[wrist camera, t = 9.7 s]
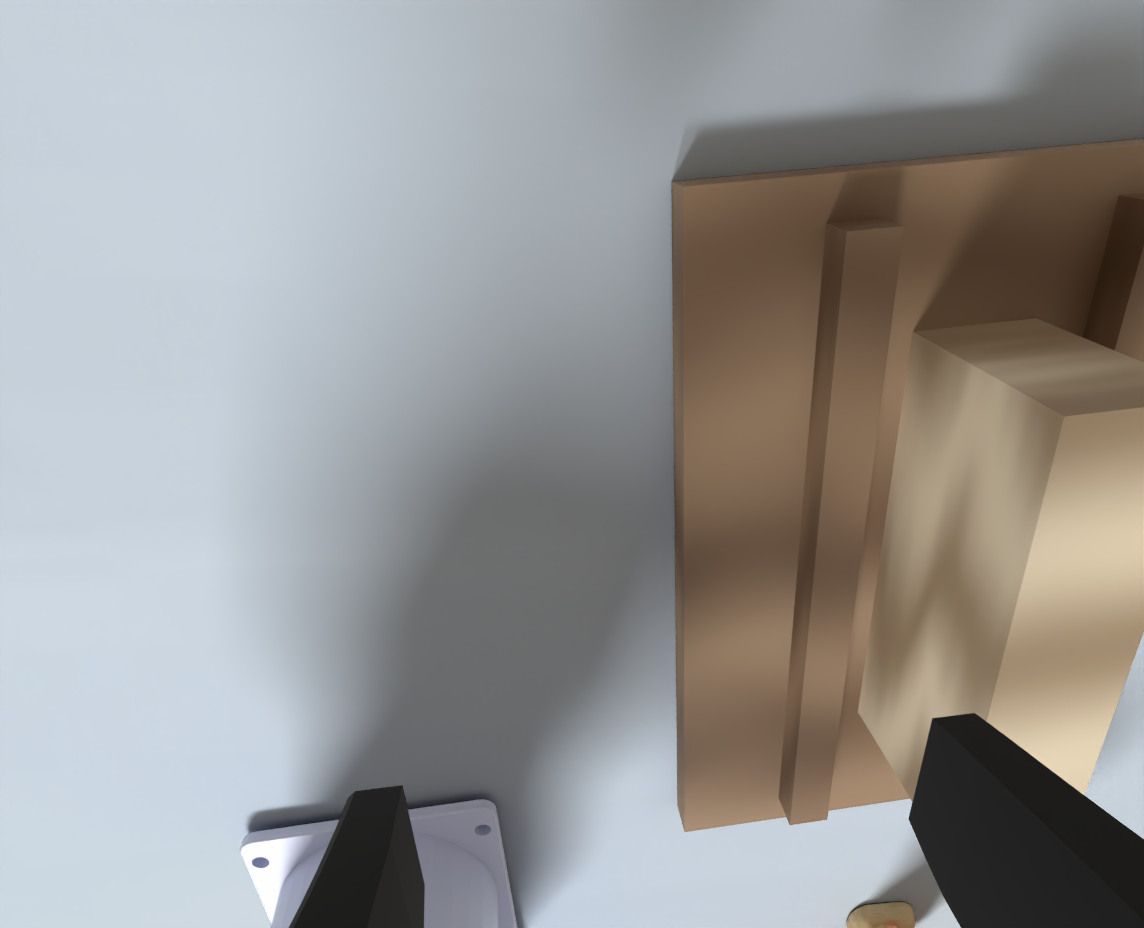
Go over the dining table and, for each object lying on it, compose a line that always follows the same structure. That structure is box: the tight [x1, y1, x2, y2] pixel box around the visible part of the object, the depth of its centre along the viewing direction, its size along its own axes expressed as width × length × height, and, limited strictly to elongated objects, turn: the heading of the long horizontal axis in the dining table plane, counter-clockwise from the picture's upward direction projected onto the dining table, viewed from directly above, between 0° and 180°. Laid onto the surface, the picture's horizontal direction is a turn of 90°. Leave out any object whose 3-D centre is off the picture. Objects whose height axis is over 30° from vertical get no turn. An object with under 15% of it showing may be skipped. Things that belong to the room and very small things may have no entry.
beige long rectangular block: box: [858, 318, 1144, 802], centre depth 18 cm, size 12×3×5 cm, turn 4°
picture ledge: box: [672, 139, 1144, 832], centre depth 20 cm, size 20×14×2 cm
